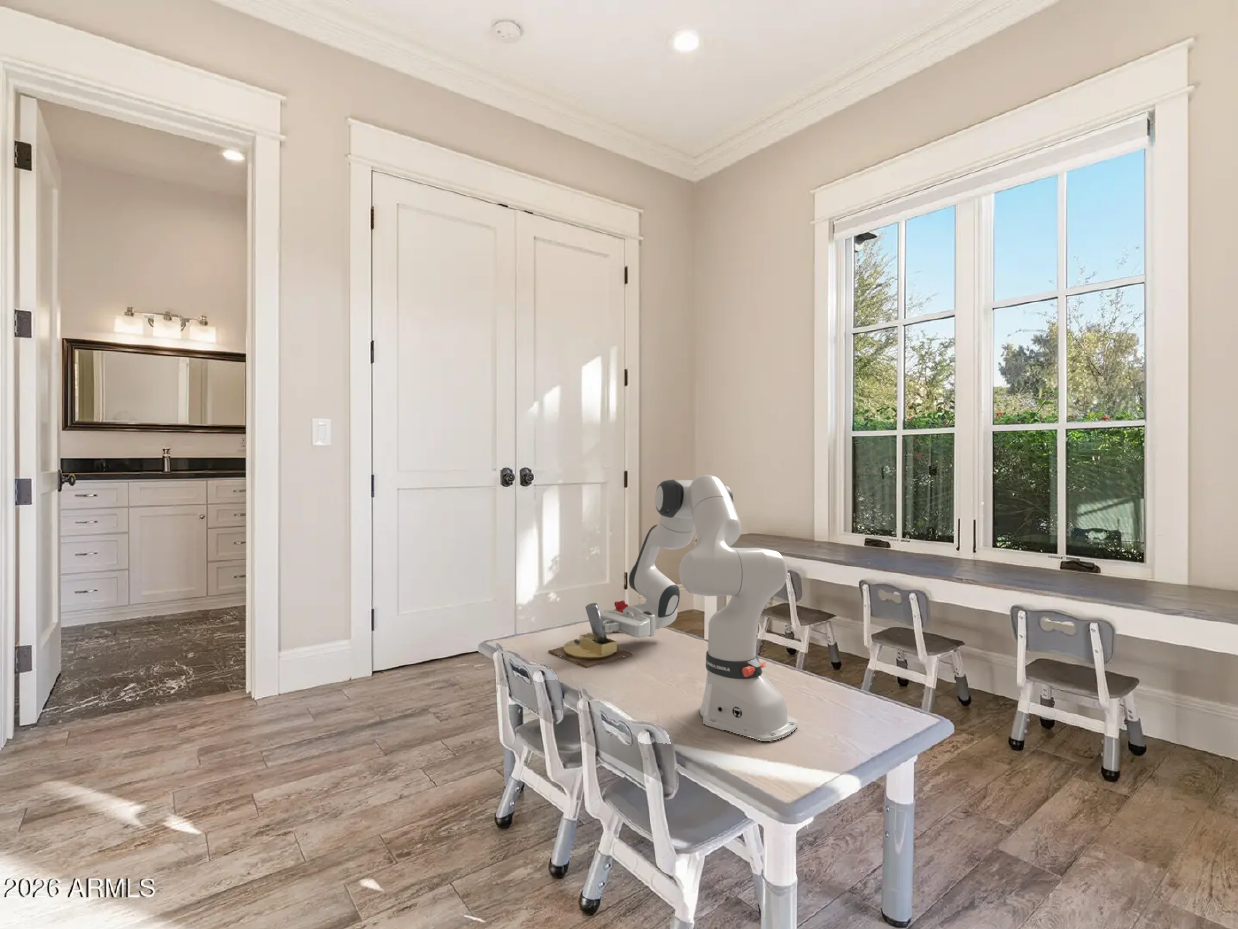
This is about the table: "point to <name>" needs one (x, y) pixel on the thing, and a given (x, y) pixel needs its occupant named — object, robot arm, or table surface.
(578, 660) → the base plate
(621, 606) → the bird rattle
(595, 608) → the pin
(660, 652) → the table surface
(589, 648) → the gold round base
